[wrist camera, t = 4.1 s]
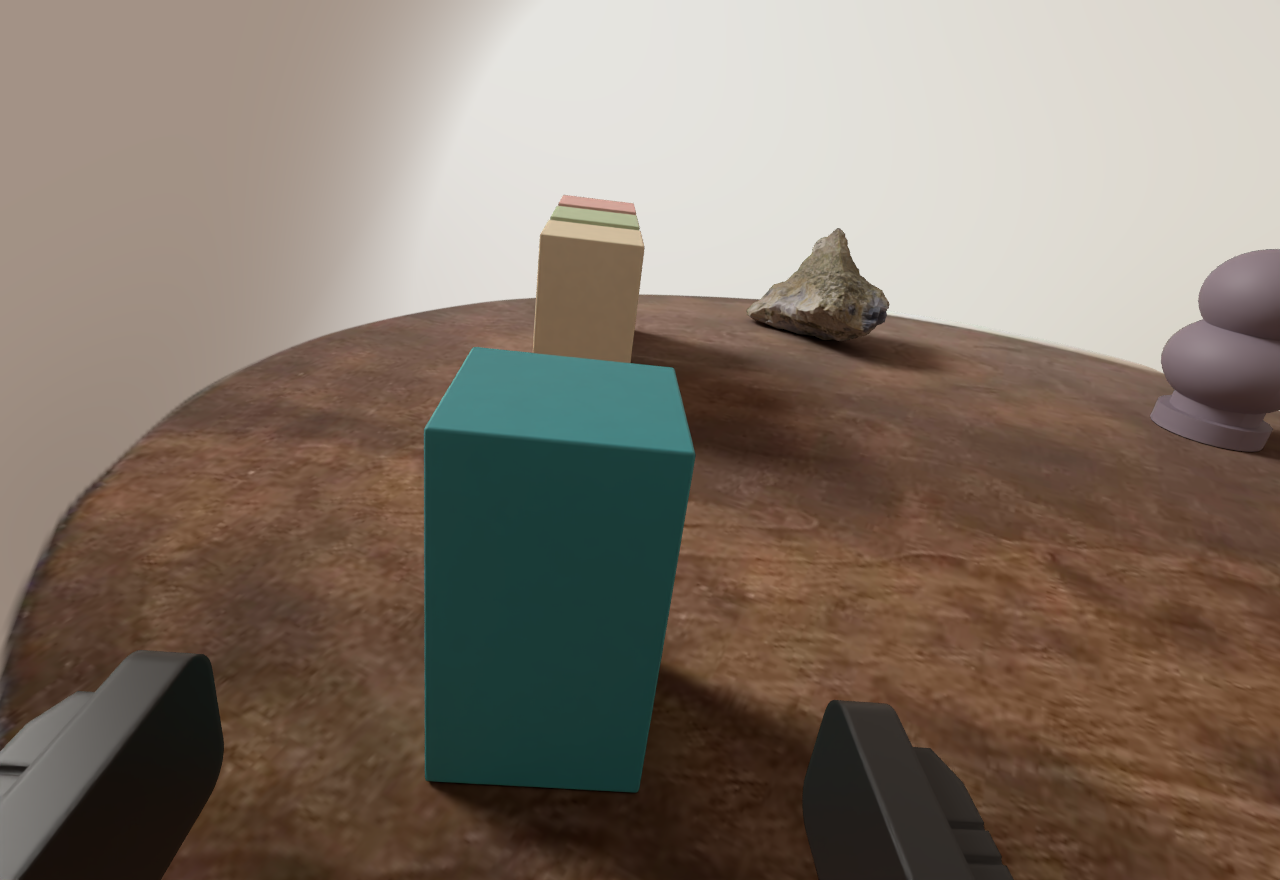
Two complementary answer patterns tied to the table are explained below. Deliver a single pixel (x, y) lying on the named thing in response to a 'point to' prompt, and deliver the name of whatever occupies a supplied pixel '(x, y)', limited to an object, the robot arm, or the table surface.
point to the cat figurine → (1227, 358)
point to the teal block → (549, 567)
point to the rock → (824, 296)
